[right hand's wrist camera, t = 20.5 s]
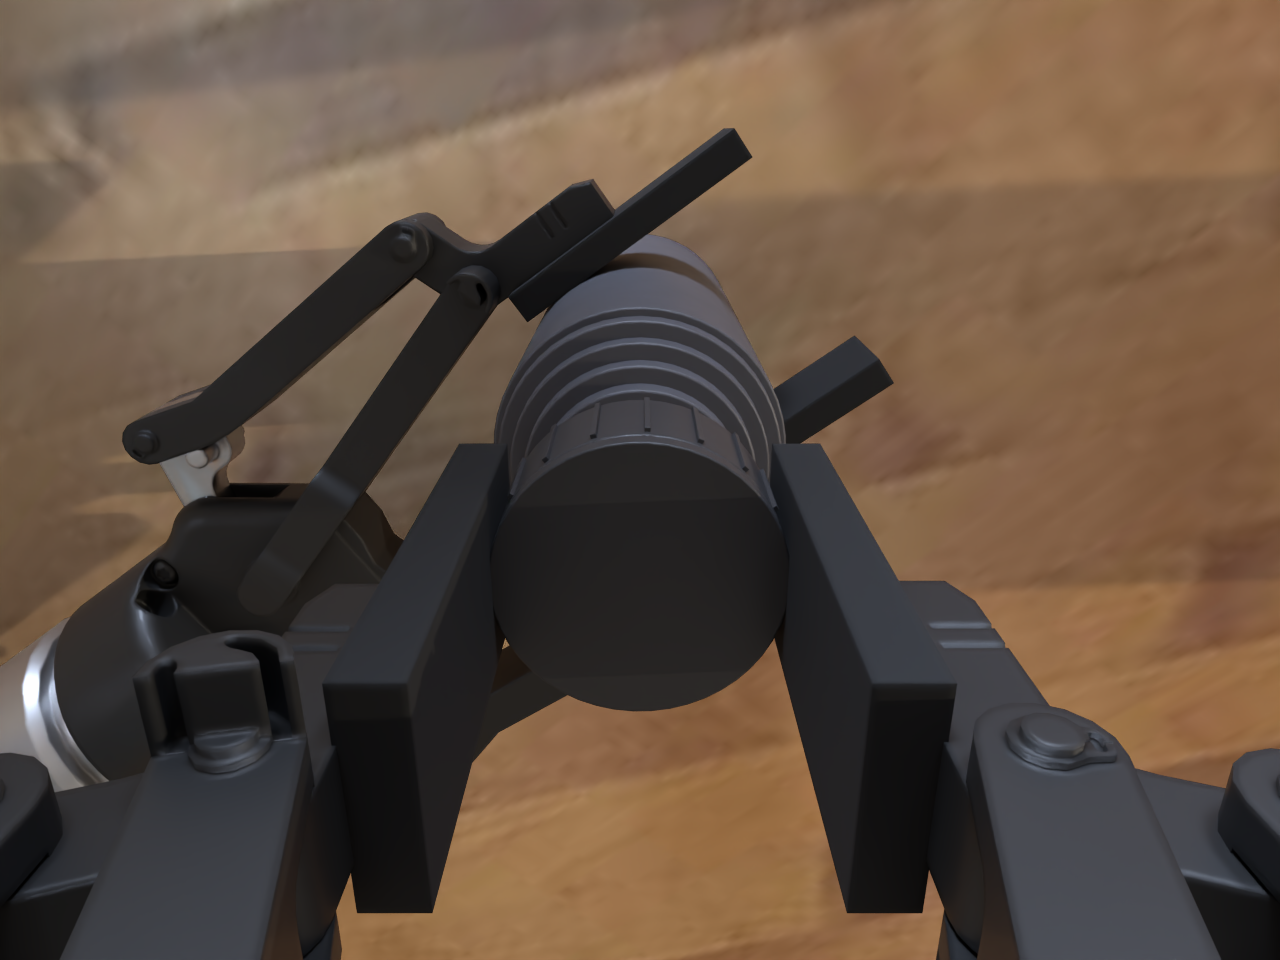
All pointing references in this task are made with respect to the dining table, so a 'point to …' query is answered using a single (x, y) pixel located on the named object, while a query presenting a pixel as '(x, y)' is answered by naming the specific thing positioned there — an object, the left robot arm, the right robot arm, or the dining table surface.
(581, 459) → the cap
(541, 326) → the bottle
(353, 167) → the dining table surface
